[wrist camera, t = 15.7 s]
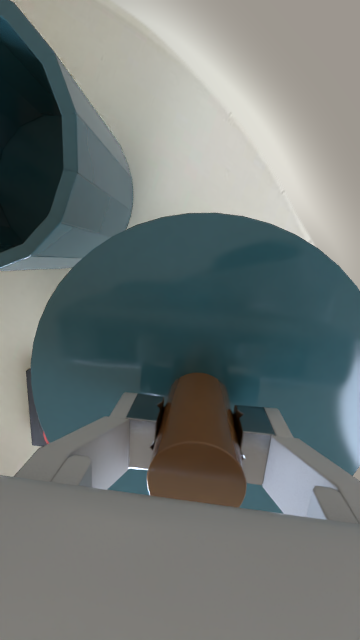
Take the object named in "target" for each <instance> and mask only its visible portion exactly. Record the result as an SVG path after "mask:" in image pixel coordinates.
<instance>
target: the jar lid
mask: <svg viewBox="0 0 360 640" xmlns="http://www.w3.org/2000/svg"><path fill="white" fill-rule="evenodd" d="M31 386H32V393H33V399H34V404H35V408H36V411H37V415H38V419H39V422H40V424H41V427H42V429H43V431H44V434H45V436H46V438H47V440H48V442H49V443H51V442H53V441H55V440H58V439H60V438H62V437H64V436H66V435H68V434H70V433H72V432H74V431H76V430H78V429H80V428H82V427H84V426H86V425H88V424H90V423H92V422H94V421H96V420H99V419H101V418H103V417H105V416H107V417H109V416H110V414H111V413H112V411H113V409H114V408H115V406H116V405H117V403H118V401H119V400H120V398H121V396H122V395H123V393H125V392H128V393H138V394H145V395H153V396H161V397H164V410H163V414H162V417H161V421H160V425H159V429H158V433H157V436H156V440H155V444H154V447H153V451H152V455H151V459H150V463H149V466H148V470H142V469H132V468H128V470H127V471H126V472H125V473H124V474H123V475H122V476H121V477H120V478H119V479H118V480H117V481H116V482H115V483H114V484H113V485H111V486H110V487H109V488H108V489H107V490H113V491H120V492H127V493H135V494H142V495H149V496H157V497H164V498H171V499H179V500H186V501H193V502H201V503H208V504H215V505H223V506H230V507H237V508H245V509H252V510H259V511H267V512H274V513H281V514H284V513H283V512H282V511H281V509H280V508H279V507H278V506H277V504H276V503H275V502H274V501H273V499H272V498H271V497H270V496H269V494H268V493H267V492H266V491H265V489H264V488H263V485H256V484H250V483H247V482H246V475H245V471H244V466H243V461H242V456H241V451H240V446H239V441H238V436H237V431H236V426H235V421H234V416H233V411H234V406H235V405H242V406H255V407H266V408H277V409H278V410H279V411H280V413H281V415H282V417H283V419H284V421H285V422H286V424H287V426H288V428H289V430H290V432H291V434H292V436H293V437H294V438H298V439H300V440H301V441H303V442H304V443H306V444H307V445H308V446H310V447H311V448H313V449H314V450H316V451H317V452H319V453H320V454H321V455H323V456H324V457H326V458H327V459H329V460H330V461H331V462H333V463H334V464H336V465H337V466H339V467H340V468H342V469H343V470H344V471H346V472H347V473H349V474H350V475H352V476H353V475H354V473H355V472H356V471H357V469H358V468H359V466H360V291H359V289H358V288H357V286H356V285H355V284H354V283H353V282H352V280H351V279H350V278H349V277H348V276H347V275H346V273H345V272H344V271H343V270H342V269H341V268H340V267H339V266H338V265H337V264H336V263H335V262H334V261H332V260H331V259H330V258H329V257H328V256H327V255H325V254H324V253H323V252H322V251H321V250H319V249H318V248H316V247H315V246H313V245H312V244H310V243H308V242H307V241H305V240H303V239H302V238H300V237H299V236H297V235H295V234H293V233H291V232H288V231H286V230H284V229H282V228H279V227H277V226H275V225H272V224H270V223H266V222H263V221H259V220H255V219H252V218H248V217H244V216H238V215H230V214H222V213H186V214H180V215H173V216H167V217H161V218H158V219H155V220H151V221H148V222H145V223H141V224H138V225H135V226H133V227H131V228H129V229H127V230H125V231H123V232H120V233H118V234H116V235H114V236H112V237H111V238H109V239H108V240H106V241H105V242H103V243H102V244H100V245H99V246H97V247H95V248H94V249H92V250H91V251H90V252H89V253H88V254H87V255H86V256H85V257H83V258H82V259H81V260H80V261H79V262H78V263H77V264H75V265H74V267H73V268H72V269H71V270H70V271H69V273H68V274H67V275H66V276H65V277H64V278H63V280H62V281H61V282H60V283H59V285H58V286H57V288H56V290H55V291H54V293H53V294H52V296H51V298H50V299H49V301H48V303H47V305H46V307H45V310H44V312H43V314H42V316H41V319H40V321H39V324H38V328H37V331H36V335H35V338H34V342H33V350H32V358H31Z"/></svg>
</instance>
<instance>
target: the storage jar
mask: <svg viewBox="0 0 360 640" xmlns="http://www.w3.org/2000/svg"><path fill="white" fill-rule="evenodd" d="M132 206H133V184H132V177H131V173H130V169H129V166H128V163H127V160H126V158H125V156H124V153H123V151H122V148H121V146H120V144H119V143H118V141H117V140H116V139H115V137H114V136H113V134H112V133H111V131H110V130H109V129H108V127H107V126H106V124H105V123H104V122H103V120H102V119H101V117H100V116H99V115H98V113H97V112H96V110H95V109H94V107H93V106H92V105H91V103H90V102H89V100H88V99H87V98H86V96H85V95H84V93H83V92H82V91H81V89H80V88H79V86H78V85H77V83H76V82H75V81H74V79H73V78H72V76H71V75H70V74H69V72H68V71H67V69H66V68H65V66H64V65H63V64H62V62H61V61H60V59H59V58H58V57H57V55H56V54H55V52H54V51H53V50H52V49H51V47H50V46H49V45H48V44H47V42H46V41H45V40H44V39H43V38H42V36H41V35H40V34H39V33H38V31H37V30H36V29H35V28H34V27H33V25H32V24H31V23H30V22H29V20H28V19H27V18H26V17H25V16H24V14H23V13H22V12H21V11H20V9H19V8H18V7H17V6H16V5H15V3H14V2H12V1H10V0H0V271H15V270H38V269H62V268H73V267H74V265H75V264H77V263H78V262H79V261H80V260H81V259H82V258H83V257H85V256H86V255H87V254H88V253H89V252H90V251H91V250H92V249H94V248H95V247H97V246H99V245H100V244H102V243H103V242H105V241H106V240H108V239H109V238H111V237H112V236H114V235H116V234H118V233H120V232H123V231H125V230H126V228H127V226H128V223H129V220H130V217H131V212H132Z"/></svg>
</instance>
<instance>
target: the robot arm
mask: <svg viewBox="0 0 360 640" xmlns="http://www.w3.org/2000/svg"><path fill="white" fill-rule="evenodd" d="M163 410H164V397H161V396H153V395H145V394H138V393H128V392H125V393H123V395H122V396H121V398H120V400H119V401H118V403H117V405H116V406H115V408H114V409H113V411H112V413H111V414H110V416H109V417H107V416H105V417H103V418H101V419H99V420H96V421H94V422H92V423H90V424H88V425H86V426H84V427H82V428H80V429H78V430H76V431H74V432H72V433H70V434H68V435H66V436H64V437H62V438H60V439H58V440H55V441H53V442H51V443H49V444H47V445H45V446H43V447H41V448H39V449H38V450H37V451H36V452H35V453H34V454H33V455H32V457H31V458H30V459H29V460H28V461H27V462H26V463H25V464H24V466H23V467H22V468H21V469H20V470H19V471H18V472H17V473H16V475H15V476H14V477H10V476H3V475H0V640H360V481H359V480H357V479H356V478H355V477H353V476H352V475H350V474H349V473H347V472H346V471H344V470H343V469H342V468H340V467H339V466H337V465H336V464H334V463H333V462H331V461H330V460H329V459H327V458H326V457H324V456H323V455H321V454H320V453H319V452H317V451H316V450H314V449H313V448H311V447H310V446H308V445H307V444H306V443H304V442H303V441H301V440H300V439H298V438H294V437H293V436H292V434H291V432H290V430H289V428H288V426H287V424H286V422H285V421H284V419H283V417H282V415H281V413H280V411H279V410H278V409H277V408H266V407H255V406H242V405H235V406H234V411H233V416H234V421H235V426H236V431H237V436H238V441H239V446H240V451H241V456H242V461H243V466H244V471H245V475H246V482H247V483H250V484H256V485H263V488H264V489H265V491H266V492H267V493H268V494H269V496H270V497H271V498H272V499H273V501H274V502H275V503H276V504H277V506H278V507H279V508H280V509H281V511H282V512H283V513H284V514H281V513H274V512H267V511H259V510H252V509H245V508H237V507H230V506H223V505H215V504H208V503H201V502H193V501H186V500H179V499H171V498H164V497H157V496H149V495H142V494H135V493H127V492H120V491H113V490H107V489H108V488H109V487H110V486H111V485H113V484H114V483H115V482H116V481H117V480H118V479H119V478H120V477H121V476H122V475H123V474H124V473H125V472H126V471H127V470H128V468H132V469H142V470H148V466H149V463H150V459H151V455H152V451H153V447H154V444H155V440H156V436H157V433H158V429H159V425H160V421H161V417H162V414H163Z"/></svg>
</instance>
